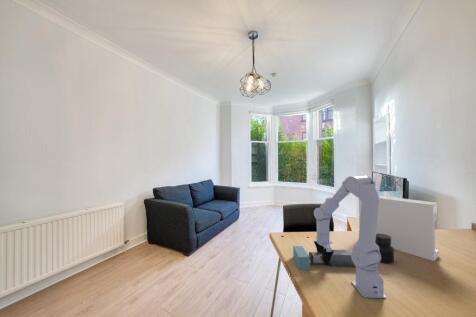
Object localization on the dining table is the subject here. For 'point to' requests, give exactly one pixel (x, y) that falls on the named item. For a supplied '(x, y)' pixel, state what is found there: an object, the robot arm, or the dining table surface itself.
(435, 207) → the block
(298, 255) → the socket block
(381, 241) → the ink bottle
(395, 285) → the dining table surface
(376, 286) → the robot arm
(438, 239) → the dining table surface
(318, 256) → the grey square bar
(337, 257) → the dark grey rectangular bar
